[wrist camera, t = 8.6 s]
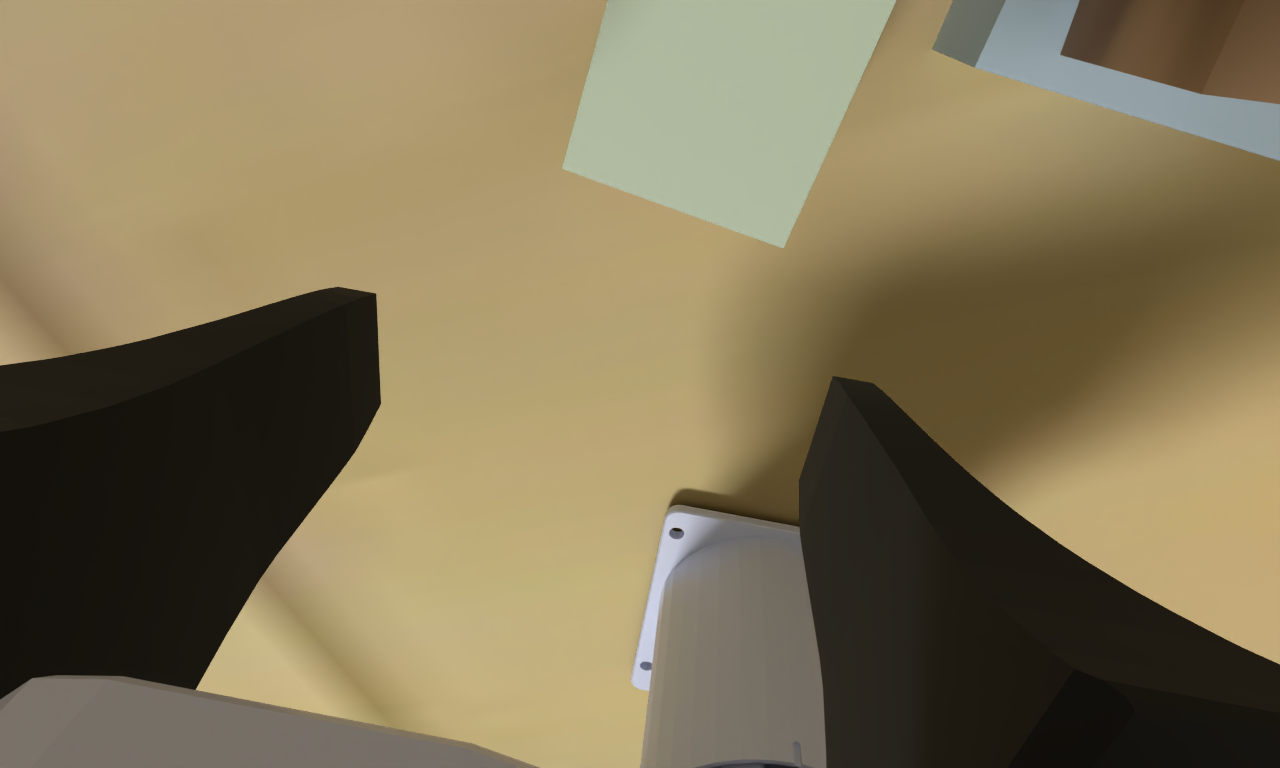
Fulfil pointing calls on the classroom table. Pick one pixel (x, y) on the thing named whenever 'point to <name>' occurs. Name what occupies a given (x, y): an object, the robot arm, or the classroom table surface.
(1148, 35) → the walnut cube
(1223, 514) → the classroom table surface
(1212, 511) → the classroom table surface
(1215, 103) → the base block
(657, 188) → the sage cube
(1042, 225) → the classroom table surface
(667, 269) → the classroom table surface
